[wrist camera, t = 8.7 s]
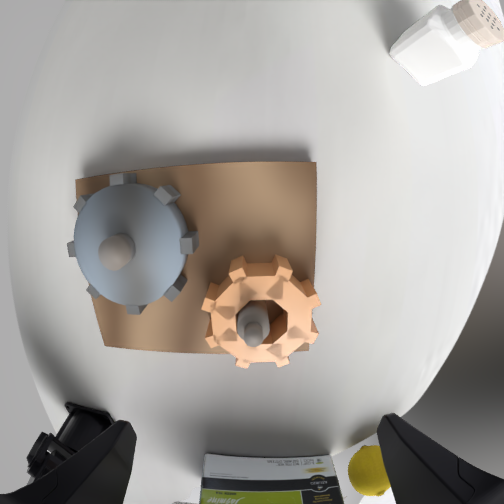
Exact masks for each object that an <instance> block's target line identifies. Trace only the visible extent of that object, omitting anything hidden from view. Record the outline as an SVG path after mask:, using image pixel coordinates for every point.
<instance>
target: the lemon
mask: <svg viewBox="0 0 504 504" xmlns="http://www.w3.org/2000/svg"><path fill="white" fill-rule="evenodd" d="M348 475H349V479H350V482H351V484H352V486H353V487H354V488H355V490H356V491H357V492H359V493H360V494H363V495H366V496H375V495H376V496H381V495H383V494H384V492H385V491H386V490H388V489H389V488H390V487H391V485H390V482H389V479H388V476H387V473H386V470H385V467H384V463H383V459H382V454H381V449H380V446H376V445H374V446H362V447H361V449H360V450H359V451H358V452H357V453H355V454H354V455H353V457H352V458H351V460H350V462H349V465H348Z"/></svg>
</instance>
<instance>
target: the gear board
mask: <svg viewBox="0 0 504 504" xmlns="http://www.w3.org/2000/svg"><path fill="white" fill-rule="evenodd" d="M75 181H76V198H77V201H76V203H75V205H74V208H75V209H76V210H77V212H78V218H77V221H76V225H75V230H74V241H71V242H69V243H67V247H68V253H69V257H76V258H77V261H78V264H79V267H80V269H81V271H82V273H83V275H84V276H85V278H86V279H87V281H88V283H89V286H88V288H87V291H88V292H89V293H90V294H91V297H92V301H93V305H94V309H95V313H96V317H97V321H98V324H99V328H100V331H101V335H102V338H103V341H104V345H105V346H109V347H117V348H126V349H136V350H148V351H161V352H178V353H207V354H231V353H229V352H228V351H226V350H225V349H224V348H222V347H221V346H220V345H219V346H216V347H213V348H211V347H210V346H209V344H208V343H207V341H206V339H205V336H206V332H207V328H208V324H209V321H210V319H211V313H210V312H207V311H204V310H201V308H202V305H203V303H204V300H205V297H206V294H207V291H208V288H209V285H210V283H211V282H212V283H215V284H217V285H220V284H221V283H222V282H223V281H224V280H225V279H226V278H227V277H228V276H229V269H230V264H231V260H233V259H236V258H238V257H240V256H244V258H245V260H246V263H272V261H273V258H274V256H275V254H276V255H279V256H282V257H284V258H287V259H288V262H289V264H290V266H291V268H292V270H293V272H292V275H293V276H294V277H295V278H296V279H297V280H298V281H299V282H302V281H304V280H306V279H309V281H310V282H311V284H312V286H313V288H314V274H315V251H316V211H317V171H316V162H229V163H209V164H194V165H181V166H170V167H160V168H151V169H142V170H134V171H126V172H119V173H112V174H106V175H100V176H94V177H88V178H82V179H77V180H75ZM282 313H283V308H282V307H281V306H280V305H279V304H277V303H276V302H275V301H274V300H250V301H249V302H248V303H247V304H246V305H245V306H244V307H243V308H242V309H241V310H240V311H239V312H238V323H237V332H238V335H239V336H240V338H241V339H243V340H244V342H245V343H246V344H247V345H248V346H250V347H257V346H259V345H261V344H262V342H263V340H264V339H265V338H266V337H267V336H268V334H269V331H270V326H269V324H271V323H272V322H273V321H274V320H275V319H277V318H278V317H279V316H280V315H281V314H282ZM296 351H309V343H307V342H304V343H303V344H302V345H301V346H299V347H298V348H297V349H296V350H295V351H293V352H296Z"/></svg>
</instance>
